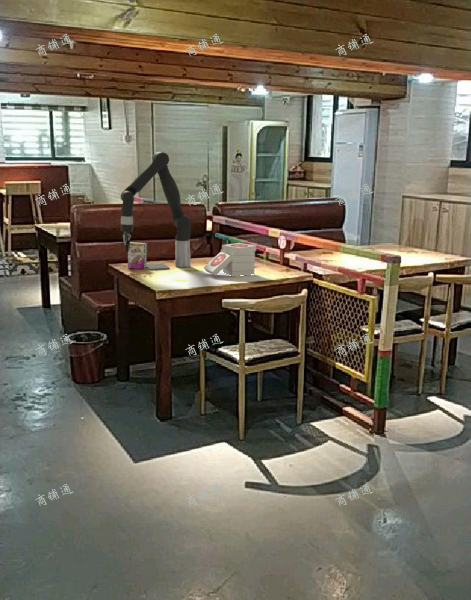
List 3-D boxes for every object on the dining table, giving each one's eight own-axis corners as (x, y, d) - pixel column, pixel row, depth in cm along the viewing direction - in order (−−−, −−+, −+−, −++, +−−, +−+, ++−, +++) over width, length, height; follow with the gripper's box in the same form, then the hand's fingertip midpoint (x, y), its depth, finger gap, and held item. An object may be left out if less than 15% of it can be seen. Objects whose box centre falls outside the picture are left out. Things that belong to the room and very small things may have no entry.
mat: (162, 265, 414) (162, 263, 414) (169, 269, 400) (169, 267, 399) (143, 266, 409) (143, 264, 409) (149, 270, 395) (149, 268, 395)
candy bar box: (127, 268, 398) (127, 242, 395) (129, 267, 403) (129, 241, 399) (144, 269, 397) (144, 243, 393) (146, 268, 402) (146, 242, 398)
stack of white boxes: (202, 273, 389) (202, 244, 385) (246, 270, 401) (246, 242, 397) (213, 279, 372) (214, 249, 368) (259, 276, 384) (259, 246, 380)
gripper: (135, 224, 386) (135, 252, 390) (130, 222, 398) (130, 249, 402) (123, 224, 383) (123, 252, 387) (118, 222, 395) (118, 249, 399)
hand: (126, 250), depth 395 cm, fingers closed
